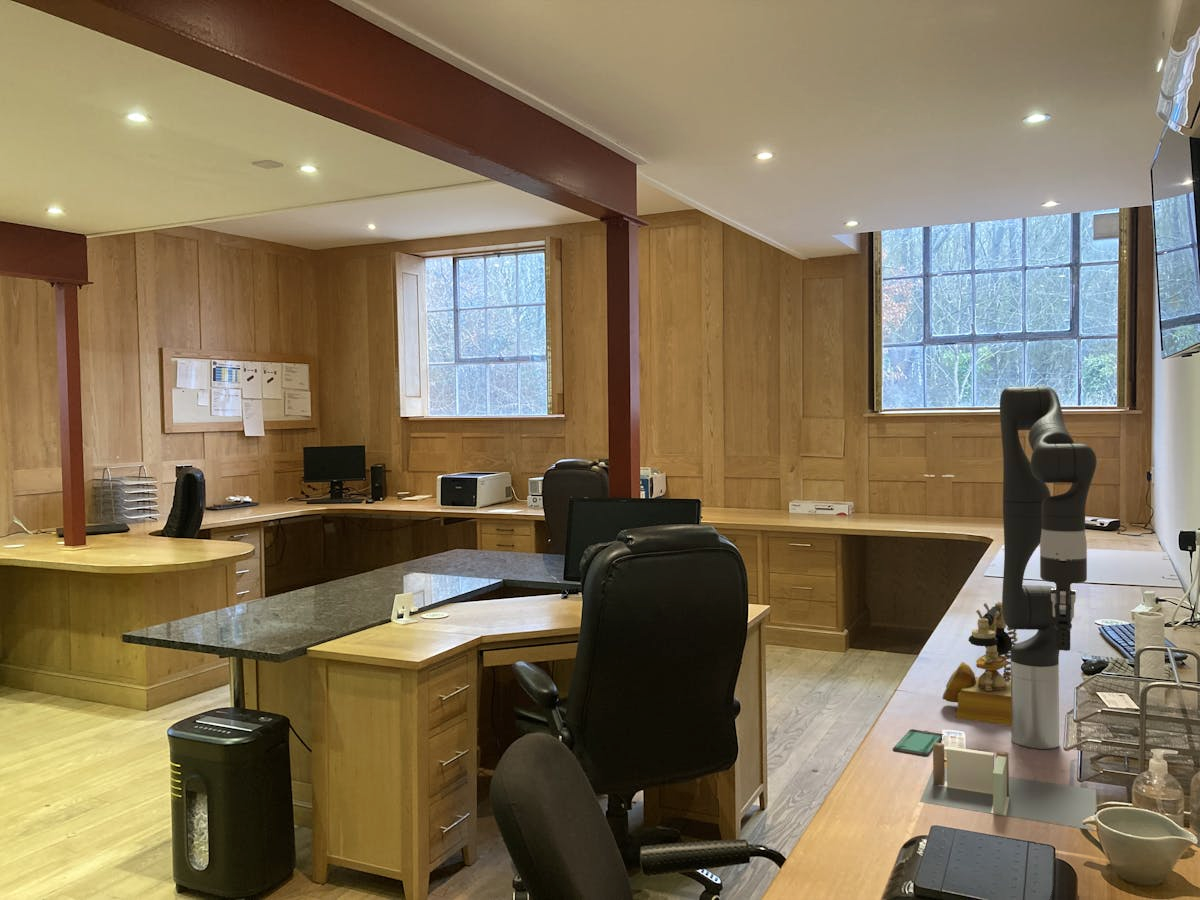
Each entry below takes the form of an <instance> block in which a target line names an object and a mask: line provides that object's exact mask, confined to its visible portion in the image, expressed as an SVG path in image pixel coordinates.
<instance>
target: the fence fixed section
mask: <svg viewBox="0 0 1200 900" xmlns="http://www.w3.org/2000/svg"><path fill="white" fill-rule="evenodd" d="M1009 755H1010V754H1009V752H1007V751H1002V750H999V751H996V757H997V756H1002V757H1006V766H1007V795H1009V777H1010V776H1009V774H1010V773H1009V771H1010V769H1009V766H1010V764H1009V763H1010V761H1009ZM945 764H946V765H945ZM945 767H946V768H947V786H951V787H958V788H964V789H971V790H977V791H983V792H990V793H993V771H994V767H995V752H991V751H990V752H989V751H983V750H982V751H981V750H975V749H968V748H960V747H954V746H946V763H945V744H944V743H941V742H940V743H933V751H932V771H933V783H934V784H935V785H944V784H945Z"/></svg>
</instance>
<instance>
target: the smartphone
mask: <svg viewBox="0 0 1200 900" xmlns="http://www.w3.org/2000/svg"><path fill="white" fill-rule="evenodd" d="M942 735H944V734H943V733H939V732H933V731H928V730H920V729H913V728H912V729H909V730H908V731H907V732H906V734H904V736H903V737H902V738H901V739H900V740H899V741H898V742H897V743H896V744H895V746H893V748H892V751H893V752H895V753H896V752H897V753H902V754H903V753H904V754H908V755H915V756H920V757H929V756H930V755H931V754H932V753H933V743H941V742H942V741H943V740H942ZM941 740H942V741H941Z"/></svg>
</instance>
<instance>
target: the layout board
mask: <svg viewBox="0 0 1200 900" xmlns="http://www.w3.org/2000/svg"><path fill="white" fill-rule="evenodd" d="M919 802H920V803H924V804H925V803H926V804H931V805H937V806H943V807H949V808H955V809H962V810H967V811H973V812H980V813H985V814H991V815H998V816H1003V817H1004V816H1005V817H1009V818H1016V819H1021V820H1028V821H1033V822H1034V821H1035V822H1039V823H1047V824H1052V825H1057V826H1058V825H1059V826H1065V827H1070V828H1076V829H1082V830H1088V831H1095V830H1094V828H1093V827H1091V826H1089V825H1083V824H1082V822H1083V820H1085V819H1086V818H1088V817H1090V816H1093V815H1094V814H1095V812H1096V811H1097V812H1098V809H1097V807H1098V805H1097V789H1095V788H1089V787H1081V786H1074V785H1067V784H1063V783H1062V784H1060V783H1056V782H1055V783H1053V782H1047V781H1042V780H1041V781H1039V780H1034V779H1028V778H1020V777H1012V776H1009V795H1007V796H1006V801H1005V806H1004V811H1003V814H999V813H993V793H990V792H983V791H977V790H971V789H964V788H958V787H951V786H947V766H945V784H944V785H935V784H934V783H933V770H931V773H930V776H929V778H928V780H927V783H926V785H925V788H924V790H923V793H922V794H921V798H920V799H919ZM1095 832H1096V831H1095Z"/></svg>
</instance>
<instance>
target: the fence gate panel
mask: <svg viewBox="0 0 1200 900" xmlns="http://www.w3.org/2000/svg"><path fill="white" fill-rule="evenodd" d="M1006 796H1007V766H1006V757H1002V756H997V755H996V759H995V762H994V771H993V813H999V814H1003V811H1004V806H1005V801H1006Z"/></svg>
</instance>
